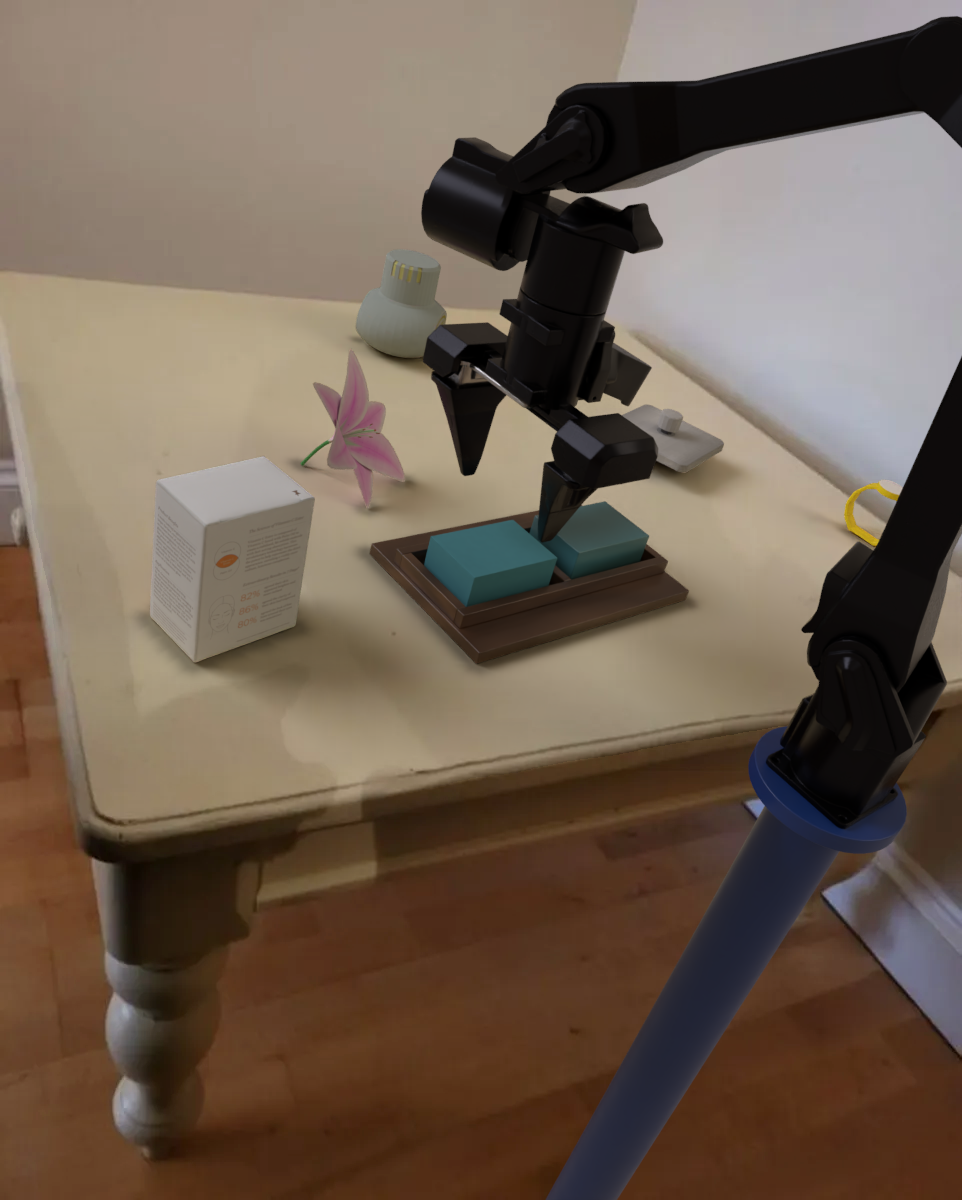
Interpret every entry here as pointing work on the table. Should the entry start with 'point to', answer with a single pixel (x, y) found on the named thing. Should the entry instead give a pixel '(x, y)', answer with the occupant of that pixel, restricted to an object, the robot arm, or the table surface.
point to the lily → (358, 431)
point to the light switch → (675, 437)
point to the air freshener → (402, 305)
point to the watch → (883, 487)
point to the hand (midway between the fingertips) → (504, 506)
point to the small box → (228, 555)
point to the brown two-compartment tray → (566, 606)
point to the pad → (489, 562)
